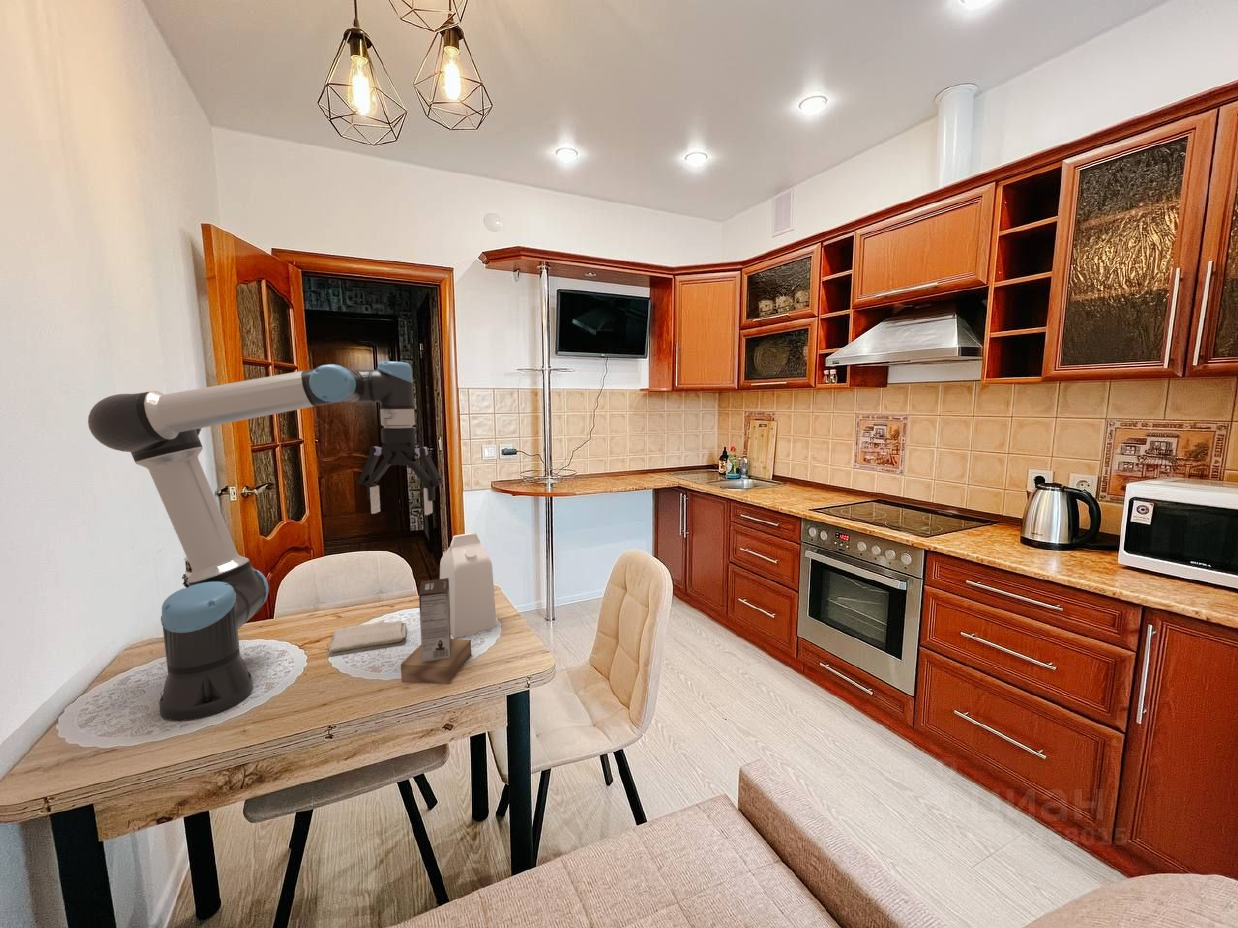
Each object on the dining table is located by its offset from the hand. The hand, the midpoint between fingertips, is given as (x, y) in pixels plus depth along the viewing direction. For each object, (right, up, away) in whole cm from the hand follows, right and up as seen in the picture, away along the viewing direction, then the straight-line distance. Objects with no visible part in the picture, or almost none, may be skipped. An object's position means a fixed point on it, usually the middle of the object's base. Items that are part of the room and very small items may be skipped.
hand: (402, 513), depth 125 cm
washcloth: (-12, -35, +8) cm, 37 cm away
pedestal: (+11, -36, -6) cm, 38 cm away
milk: (+11, -33, +17) cm, 39 cm away
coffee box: (+11, -32, -6) cm, 34 cm away
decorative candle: (-50, -34, +5) cm, 61 cm away
